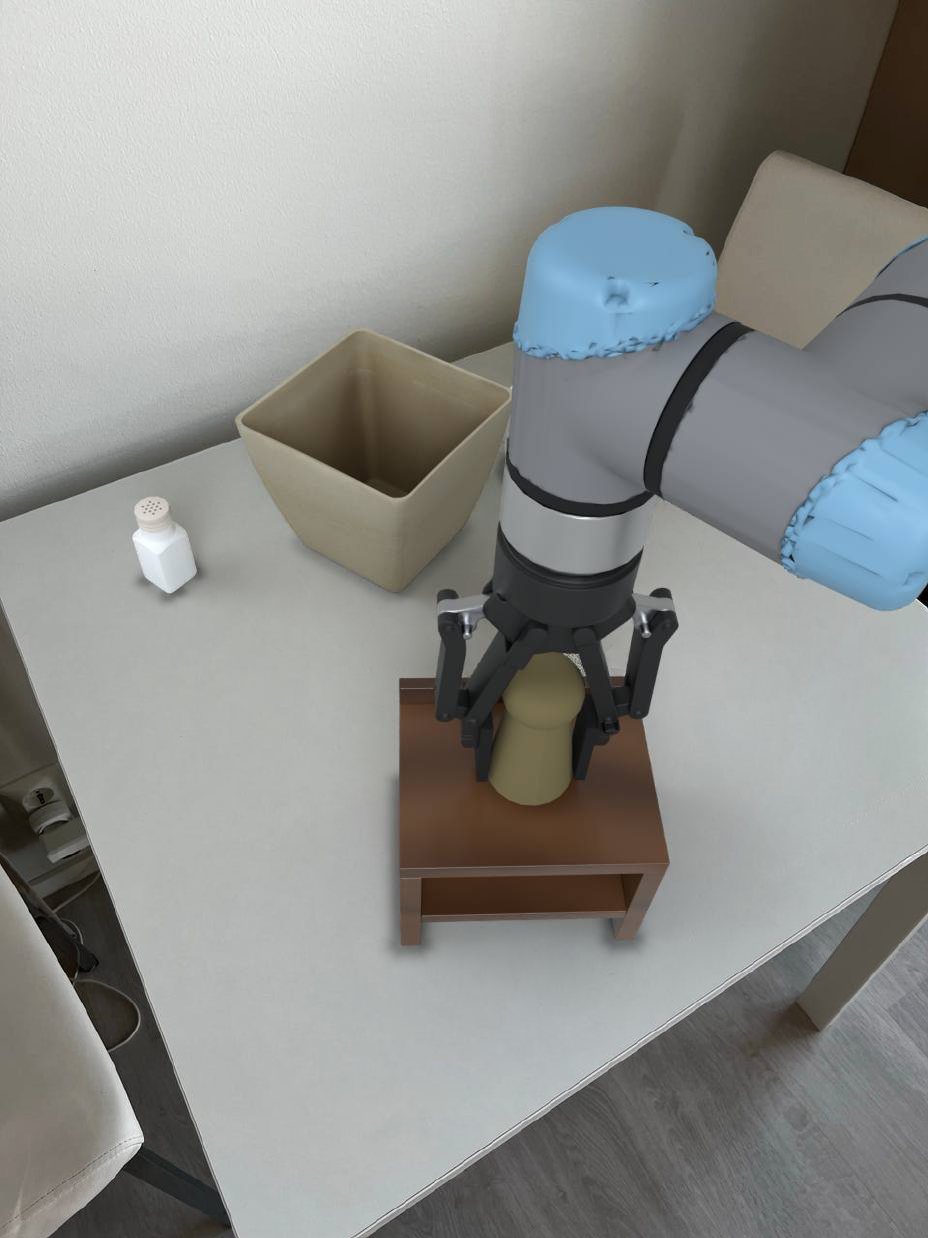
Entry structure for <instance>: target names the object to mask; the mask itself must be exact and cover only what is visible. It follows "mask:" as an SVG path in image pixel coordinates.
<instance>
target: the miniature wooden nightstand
mask: <svg viewBox="0 0 928 1238" xmlns="http://www.w3.org/2000/svg"><path fill="white" fill-rule="evenodd" d="M470 677H471V676H469V677H468V676H467V677H466V676H465V677H463V676H462V679H461V685H460V689H462V680H464V682H466V681H467V680H469V678H470ZM435 678H436V677H399V678H398V698H399V699H398V703H399V705H398V707H399V709H398V710H399V711H398V713H399V714H398V724H399V725H398V726H399V728H398V759H399V760H398V772H399V773H398V887H399V888H398V890H399V924H400V925H399V926H400V927H399V928H400V931H399V932H400V946H421V944H422V943H421V942H422V940H421V937H422V923H453V922H457V923H459V922H460V923H461V922H497V921H498V922H499V921H503V922H504V921H541V920H543V921H544V920H585V919H587V920H588V919H611V923H612V924H611V925H612V929H613V938H614V940H615V941H633V940H635V938H636V935H637V934H638V932H639V929H640V927H641V925H642V923H643V921H644V919H645V917H646V915H647V913H648V910H649V908H650V906H651V904H652V902H653V900H654V898H655V897H656V894H657V892H658V890H659V888H660V885H661V883H662V881H663V880H664V877H665V875H666V873H667V871H668V868H669V867H670V864H671V861H670V856H669V851H668V846H667V845H668V844H667V841H666V840H667V839H666V836H665V831H664V830H665V829H664V825H663V820H662V814H661V809H660V804H659V799H658V794H657V788H656V784H655V779H654V773H653V767H652V763H651V756H650V752H649V747H648V741H647V735H646V732H645V726H644V721H643V718H642V719H632V718H631V717H630V716H629V715H624V716H621V717H619V718H618V719H619V725H620V731H619V732H618V733H617V734H615V735H611V736H610V740H609V742H608V743H607V744H606V745H602V746H594V748H593V752H592V756H591V759H590V763H589V766H588V770H587V774H586V777H585V780H574V777H573V770H572V777H571V780H570V783H569V785H568V787H567V789H566V790H565V791H564V792H563V793H562V794H561V796H559V797H558V798H556V799H554V800H553V801H551V802H549V803H545V804H540V805H536V806H535V805H521V804H519V803H516V802H513V801H510V800H508V799H507V798H505V797H504V796H502V795H501V794H500V793H498V792H497V791H496V789H495V788H494V787H493V785H492V784H491V783H490V781H489V778H488V780H487V782H476V767H475V749H474V748H464V747H463V746H462V744H461V720H460V719H457V718H454V719H453V720H452V721H449V722H440V721H438V720H437V719H436V717H435ZM583 678H584V682H585V694H591V691H590V688H589V684H588V681H587V678H586V675H583ZM610 678H611V682H612V685H613V688H617V687H621V686H624V678H625V675H615V676H614V675H610ZM504 710H505V704H504V701H503V698H502V695H501V696H500V698H499V699H498V701H497V702H496V704H495V705H494V707H493V708H492V714H493V728H494V730H493V739H494V737H495V734H496V731H497V729H498V726H499V723H500V721H501V718H502V715H503V713H504ZM576 717H577V715H576V716H575V717H574V718H573V720H572V734H573V730H574V726H575V722H576ZM493 739H492V742H493Z"/></svg>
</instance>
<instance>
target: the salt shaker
mask: <svg viewBox="0 0 928 1238" xmlns="http://www.w3.org/2000/svg"><path fill="white" fill-rule="evenodd" d="M133 513H134V517H135V521H136V523H137V526H138V529H137V530H135V532H133V535H132V537H131V538H132V542H133V544H134V548H135V552H136V554H137V557H138V560H139V563H140V567H141V570H142V573H143V576H144V578H145V579H147V580H148V581H149V582H151V583H152V584H153V585H155V586H156V587H158V588H159V589H160V590H162V591H164V592H165V593H167V594H172V593H174V592H175V591H177V590H178V589H180V588H181V587H182V586H184V585H185V584H186V583H187V582H189V581H190V580H192V579H193V578H194V577H195V576H196V575H197V572H198V570H197V569H198V568H197V566H196V562H195V561H196V560H195V558H194V554H193V550H192V546H191V542H190V539H189V535H188V532H187V530H186V529H185V528H184V527H183V526H181V525H180V524H179V523H178V522H176V521H174V516H173V512H172V509H171V505H170V503H169V502H168V501H167V499H166V498H163V497H161V496H148V497H145V498H142V499H140V500H139V501H138V502H137V503H136V504H135V506H134V511H133Z"/></svg>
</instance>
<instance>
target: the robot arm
mask: <svg viewBox="0 0 928 1238" xmlns="http://www.w3.org/2000/svg"><path fill="white" fill-rule="evenodd" d="M718 269H719V268H718V262H717V258H716V255H715V252H714V250H713V248H712V246H711V245H710V244H709V243H708V242H707V241H706V240H705V239H704V238H703V237H699V236H696V235H695V233H694V230H693V228H692V227H690V226H689V225H688V224H687V223H685V222H684V221H682V220H680V219H677V218H676V217H673V216H670V215H668V214H665V213H662V212H659V211H654V210H651V209H645V208H639V207H633V206H618V205H617V206H615V205H614V206H598V207H592V208H588V209H583V210H580V211H576V212H573V213H571V214H568V215H566V216H564V217H563V218H561V220H560V221H558V222H556V223H553V224H551V225H550V226H548V227H547V228H545V230H544V231H543V232H541V233H540V235H539V236H538V237H537V239H536V240H535V241H534V243H533V245H532V246H531V249H530V252H529V254H528V257H527V262H526V267H525V273H524V274H525V275H524V282H523V285H522V286H523V287H522V291H521V299H520V306H519V310H518V317H517V320H516V321H515V322H514V326H513V331H512V337H511V338H512V339H513V364H512V383H511V386H512V402H511V416H510V429H509V437H508V438H507V451H506V458H504V459H505V460H504V467H503V476H502V486H501V492H500V493H501V494H500V504H499V516H498V523H497V530H496V540H495V541H496V542H495V551H494V560H493V572H492V576H491V578H490V579H489V581H487V583H486V584H485V585H484V587H483V588H482V592H481V593H479V594H475V595H468V596H465V597H464V596H463V597H459V594H458V592H457V591H456V590H454V589H452V588H444V589H441V590H440V591H438V592H437V594H436V617H437V619H436V620H437V632H438V634H439V636H440V644H439V652H438V653H439V654H438V659H437V666H436V671H435V677H434V678H435V717H436V719H437V720H438V721H440V722H449V721H452V720H453V719H454V718H457V719H460V720H461V744H462V746H463V747H464V748H474V749H475V767H476V782H487V780H488V772H489V763H490V755H491V747H492V739H493V730H494V728H493V714H492V708H493V707H494V705H495V704H496V702H497V701H498V699H499V698H500V696H501V695H502V694H503V692H504V691H505V689H506V688H507V686H508V685H509V683H510V682H511V680H512V679H513V677H514V676H515V674H516V673H517V671H518V670H524V669H525V667H526V666H527V664H528V663H529V661H530V660H531V658H532V657H533V655H534V654H543V653H549V652H558V653H562V654H564V655H578V658H579V661H580V663H581V667H582V670H584V674H585V676H586V678H587V681H588V684H589V688H590V691H591V694H585V698H584V701H583V704H582V707H581V710H580V711H579V713H578V714H577V717H576V722H575V726H574V730H573V734H572V770H573V777H574V780H585V777H586V774H587V770H588V766H589V763H590V759H591V756H592V752H593V748H594V746H602V745H606V744H607V743H608V742H609V740H610V736H611V735H615V734H617V733H618V732H619V731H620V725H619V719H618V718H619V717H621V716H624V715H629V716H630V717H631V718H632V719H642V720H643V719H644V718H646V717H648V715H649V714H650V713H649V712H650V708H651V704H652V699H653V696H654V690H655V686H656V681H657V677H658V673H659V669H660V668H659V667H660V664H661V659H662V655H663V651H664V647H665V645H666V644H667V643H668V642H669V641H670V639H671V638H672V637H673V636H674V634H675V633H676V632H677V630H678V629H679V627H680V625H679V620H678V616H677V611H676V607H675V603H674V599H673V596H672V591H671V590H670V588H667V587H657V588H655V589H653V590H652V591H651V592H650V593H649V595H647V594H641V593H636V592H634V587H635V585H636V584H635V583H636V579H637V576H638V573H639V569H640V566H641V561H642V558H643V553H644V548H645V544H646V542H647V539H648V536H649V533H650V530H651V524H652V521H653V518H654V512H655V508H656V505H657V501H658V497H659V498H660V499H661V500H662V501H666V502H668V503H670V504H671V505H673V506H675V507H677V508H679V509H680V510H682V511H684V512H686V513H687V514H689V515H690V516H693V517H694V518H696V519H698V520H700V521H702V522H704V524H707V525H709V526H710V527H712V528H714V529H716V530H718V531H719V532H721V533H723V534H725V535H726V536H728V537H730V538H731V539H734V540H735V541H737V542H739V543H741V544H742V545H745V546H746V547H747V548H750V549H752V550H753V551H755V552H756V553H758V554H760V555H762V556H764V557H766V558H767V559H769V560H771V561H773V562H775V563H776V564H777V565H779V566H781V567H783V569H784V570H786V572H788V573H789V574H792V575H793V576H795V577H797V579H801V580H810V581H812V582H814V583H816V584H818V585H821V586H823V587H825V588H827V589H829V590H832V591H833V592H836V593H838V594H840V595H842V596H845V598H846V597H847V598H849V599H851V600H853V601H855V602H857V603H860V604H862V605H864V606H866V607H868V608H870V609H872V610H876V611H880V612H894V611H898V610H901V609H904V607H907V606H910V604H912V603H913V602H914V601H915V600H916V599H918V598H919V596H920V595H921V593H922V592H923V590H924V589H925V588H926V586H927V585H928V233H926V234H925V235H924V236H923V237H920V238H918V239H917V240H914V241H913V242H911V243H909V244H908V245H907V246H905V247H904V248H903V249H901V250H900V251H899V252H898V253H897V254H895V255H894V256H893V257H892V258H891V259H890V260H889V261H888V262H887V263H886V264H885V266H883V267H882V268H881V269H880V270H879V271H878V272H877V274H876V276H875V278H874V279H873V280H872V282H871V283H870V284H869V285H868V286H867V287H866V288H864V290H863V291H862V292H861V293H860V294H859V295H858V296H856V297H855V298H854V299H853V301H852V302H851V303H849V304H848V305H847V307H846V308H845V309H844V310H842V311H841V312H840V313H838V314H837V315H836V316H835V317H834V318H833V320H831V321H830V322H829V323H828V324H827V325H826V326H825V327H824V328H823V329H821V331H820V332H819V333H817V334H816V335H815V336H814V338H812V339H811V340H810V341H808V343H807V344H806V345H805V346H804V347H803V348H800V347H797V346H795V345H792V344H790V343H788V342H785V341H783V340H781V339H779V338H776V337H774V336H771V335H769V334H767V333H765V332H763V331H760V330H758V329H755V328H752V327H750V326H747V325H746V324H743V323H742V322H741V321H739V320H736V319H735V318H733V317H729V316H728V315H726V314H722V313H721V312H718V311H717V310H715V309H714V307H715V304H716V301H715V300H716V298H717V297H718V293H717V291H716V286H717V279H718ZM483 619H486V620H487V621H488V622H489V623H490V624H491V625H492V626H493V627H494V628H495V629H496V630H497V632H496V634H495V636H494V637H493V639H492V641H491V642H490V644H489V646H488V647H487V649H486V650H485V652H484V654H483V655H482V657H481V658H480V661H479V662H478V663H477V665H476V666H475V669H474V670H473V671H472V674H471V675H470V676H469V677H470V678H469V680H467V681H466V682H464V680H462V689H460V685H461V679H462V677H463V673H464V667H465V662H466V656H467V641H468V640H471V639H472V638H473V632H475V631H476V630H477V629H478V624H479V622H480V621H481V620H483ZM631 619H632V623H633V629H632V635H631V639H630V640H631V641H630V647H629V652H628V657H627V663H626V668H625V674H624V676H625V678H624V686H621V687H617V688H613V685H612V682H611V678H610V676H611V673H610V669H609V666H608V662H607V658H606V654H605V651H604V647H603V644H602V640H603V639H605V638H607V637H608V636H609V635H610V634H612V633H613V632H614V631H616V630H617V629H619V628H620V627H621V626H623V625H624V624H626V623H627V622H628V621H630V620H631Z"/></svg>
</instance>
